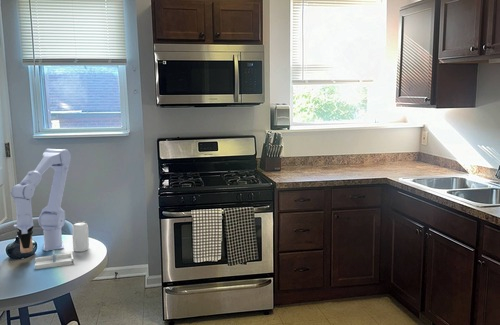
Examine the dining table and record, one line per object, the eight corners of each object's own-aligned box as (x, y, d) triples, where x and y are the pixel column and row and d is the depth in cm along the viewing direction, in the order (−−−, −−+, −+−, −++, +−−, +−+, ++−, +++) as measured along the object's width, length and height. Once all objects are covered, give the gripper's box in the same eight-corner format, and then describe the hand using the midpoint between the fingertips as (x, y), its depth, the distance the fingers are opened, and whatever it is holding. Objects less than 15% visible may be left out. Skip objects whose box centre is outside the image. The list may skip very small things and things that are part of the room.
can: (70, 250, 190) (68, 224, 189) (81, 246, 196) (80, 220, 194) (80, 253, 187) (79, 226, 186) (92, 248, 193) (91, 222, 191)
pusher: (52, 258, 179) (52, 250, 178) (55, 258, 179) (55, 250, 179) (53, 264, 173) (52, 255, 173) (55, 263, 174) (55, 255, 173)
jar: (20, 249, 179) (19, 235, 178) (33, 248, 181) (32, 234, 180) (20, 253, 175) (19, 239, 174) (32, 251, 177) (31, 237, 176)
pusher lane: (35, 261, 177) (35, 256, 177) (72, 256, 183) (72, 251, 183) (35, 269, 169) (34, 264, 169) (73, 263, 175) (73, 258, 175)
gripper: (14, 210, 180) (16, 241, 182) (11, 219, 167) (14, 253, 169) (33, 208, 183) (35, 239, 185) (32, 217, 170) (34, 250, 172)
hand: (26, 246), depth 178 cm, fingers closed on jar, 4 cm apart
